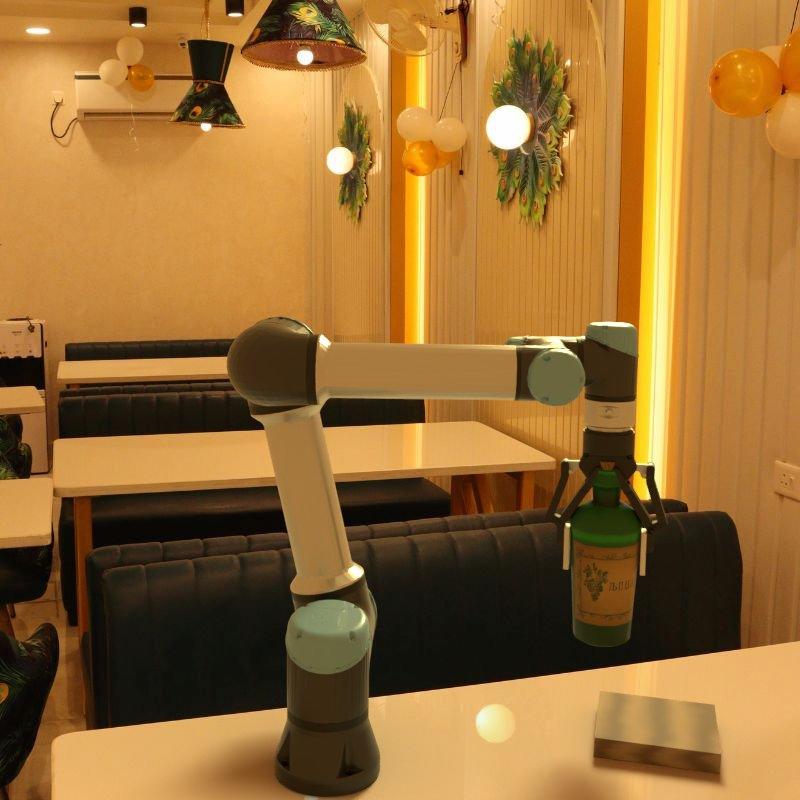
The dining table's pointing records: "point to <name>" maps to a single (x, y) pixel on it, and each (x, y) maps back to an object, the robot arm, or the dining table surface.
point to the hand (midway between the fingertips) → (604, 569)
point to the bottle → (604, 563)
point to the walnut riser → (657, 732)
